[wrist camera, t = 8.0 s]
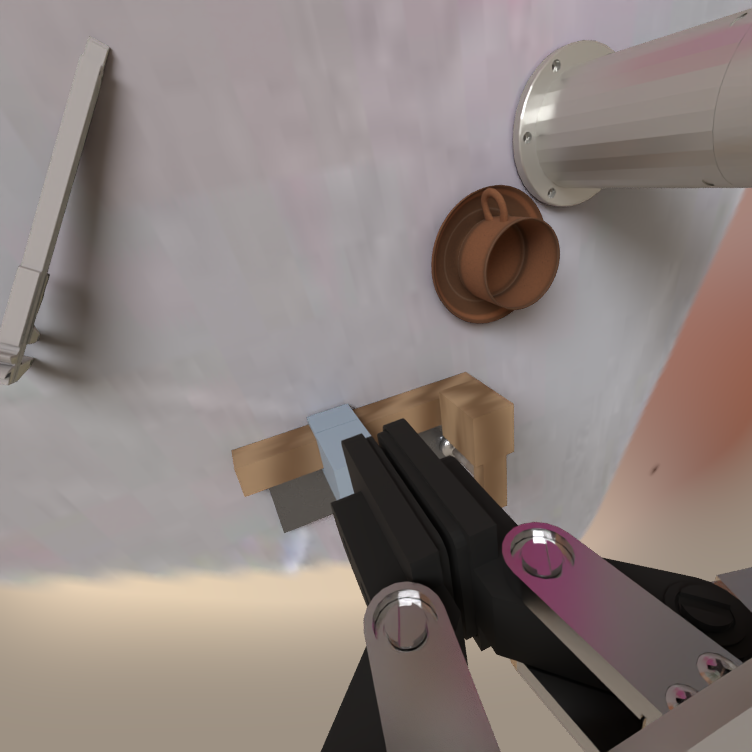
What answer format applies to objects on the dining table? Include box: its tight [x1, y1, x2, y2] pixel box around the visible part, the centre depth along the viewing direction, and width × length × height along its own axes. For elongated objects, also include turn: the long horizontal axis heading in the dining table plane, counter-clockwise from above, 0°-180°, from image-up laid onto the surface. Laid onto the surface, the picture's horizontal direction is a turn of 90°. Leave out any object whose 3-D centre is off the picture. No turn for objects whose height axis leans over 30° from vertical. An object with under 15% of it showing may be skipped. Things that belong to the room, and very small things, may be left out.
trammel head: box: [307, 404, 371, 500], centre depth 38 cm, size 4×11×9 cm, turn 10°
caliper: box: [0, 36, 110, 385], centre depth 25 cm, size 21×1×6 cm, turn 156°
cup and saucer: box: [431, 185, 560, 323], centre depth 37 cm, size 12×12×6 cm
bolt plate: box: [269, 425, 461, 533], centre depth 44 cm, size 24×6×2 cm, turn 100°
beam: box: [232, 372, 514, 508], centre depth 39 cm, size 24×11×9 cm, turn 100°
